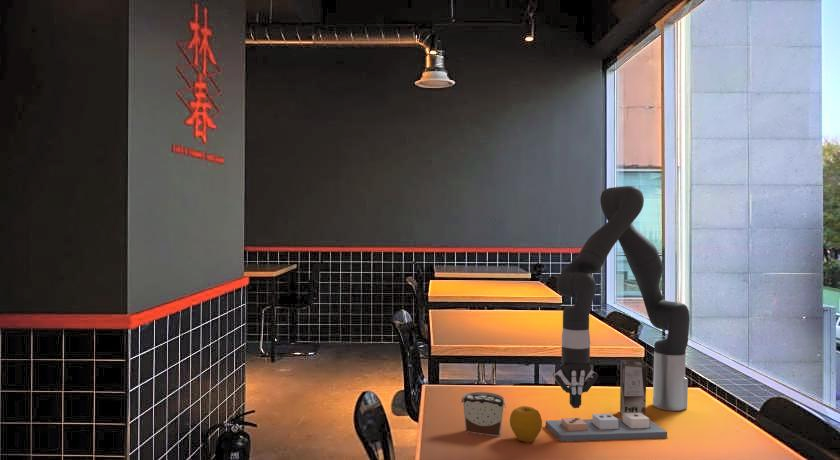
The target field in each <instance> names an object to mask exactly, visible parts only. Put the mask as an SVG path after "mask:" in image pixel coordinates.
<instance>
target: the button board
mask: <svg viewBox="0 0 840 460" xmlns="http://www.w3.org/2000/svg"><path fill="white" fill-rule="evenodd" d="M616 418H617V417H616ZM581 419H582V420H583V421H584V422H585V423H586V424H587V431H567V430H566V429H565V428H564V427H562V426H561V423H562V419H557V420H552V419H551V420H550V419H549V420H545V427H546V428H547V429H548V430H549V431H550V433H551V434H553V436H555V437H556V438H557V440H559V441H560V442H581V441H582V442H583V441H584V442H585V441H607V440H609V441H611V440H612V441H613V440H638V439H639V440H641V439H644V440H645V439H665V438H666V439H667V438H668V431H666V429H664V428H662V427H661V426H659V425H658V424H656V423H655V422H653V421H652V420H650V419H649V428H633V429H631V428H630V427H628V426H627V425H626V424H624V423H623V417H622V418H621V417H618V418H617V419H618V429H603V430H600V429H599V428H597V427H596V426H595V425H594V424H593V423H592V418H590V419H589V418H587V419H586V418H584V419H583V418H581Z"/></svg>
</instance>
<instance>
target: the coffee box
mask: <svg viewBox="0 0 840 460" xmlns="http://www.w3.org/2000/svg"><path fill="white" fill-rule="evenodd" d="M647 367H648V366H646V364H645V363H644V362H643V360H636V359H635V360H633V359H632V360H631V359H630V360H629V359H628V360H627V359H626V360H625V359H620V384H619V385H620V387H619V388H620V390H619V394H620V397H619V398H620V399H619V400H620V401H619V406H620V407H619V412H620V414H621V417H622V418H623V413H642V414H643V415H645V416H646V408H647V407H646V404H647V403H646V402H647V401H646V400H647V399H646V398H647V371H648V370H647Z"/></svg>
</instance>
